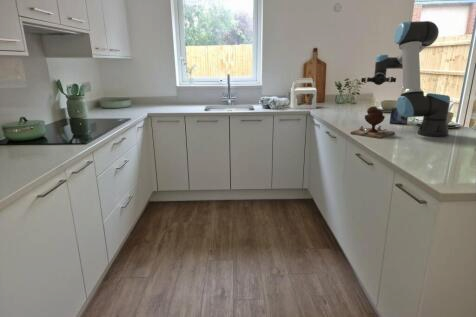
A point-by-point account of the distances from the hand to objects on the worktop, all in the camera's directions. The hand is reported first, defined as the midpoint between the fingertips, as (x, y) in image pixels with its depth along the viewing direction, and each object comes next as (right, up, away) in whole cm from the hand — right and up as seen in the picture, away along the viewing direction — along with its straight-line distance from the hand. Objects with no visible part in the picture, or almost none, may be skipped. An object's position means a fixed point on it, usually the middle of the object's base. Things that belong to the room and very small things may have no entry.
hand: (377, 80), depth 197 cm
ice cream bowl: (-6, -32, -7) cm, 33 cm away
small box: (+24, -24, +22) cm, 41 cm away
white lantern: (-24, 0, +109) cm, 112 cm away
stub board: (-6, -33, -6) cm, 34 cm away
